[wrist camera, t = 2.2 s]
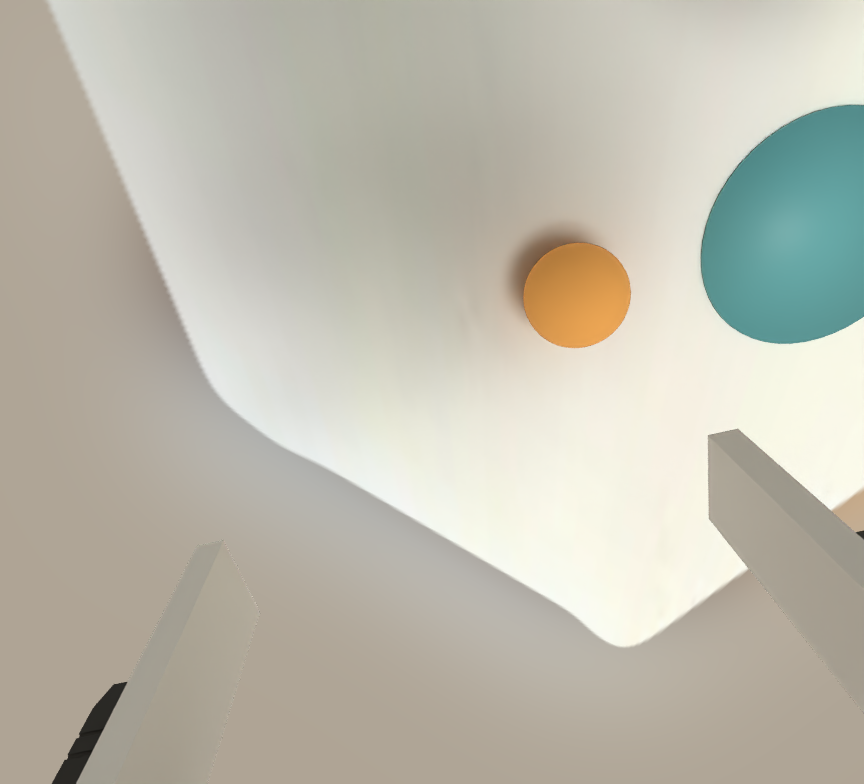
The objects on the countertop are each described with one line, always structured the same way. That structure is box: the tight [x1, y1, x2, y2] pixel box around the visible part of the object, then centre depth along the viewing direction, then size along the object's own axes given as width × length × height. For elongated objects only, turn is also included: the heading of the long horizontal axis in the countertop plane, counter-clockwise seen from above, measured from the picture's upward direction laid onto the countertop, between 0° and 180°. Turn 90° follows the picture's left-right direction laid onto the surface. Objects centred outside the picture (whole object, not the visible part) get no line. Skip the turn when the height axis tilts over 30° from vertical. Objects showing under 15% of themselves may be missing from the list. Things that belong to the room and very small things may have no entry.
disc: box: [701, 105, 864, 344], centre depth 31 cm, size 13×13×1 cm
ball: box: [523, 243, 631, 348], centre depth 29 cm, size 6×6×6 cm
